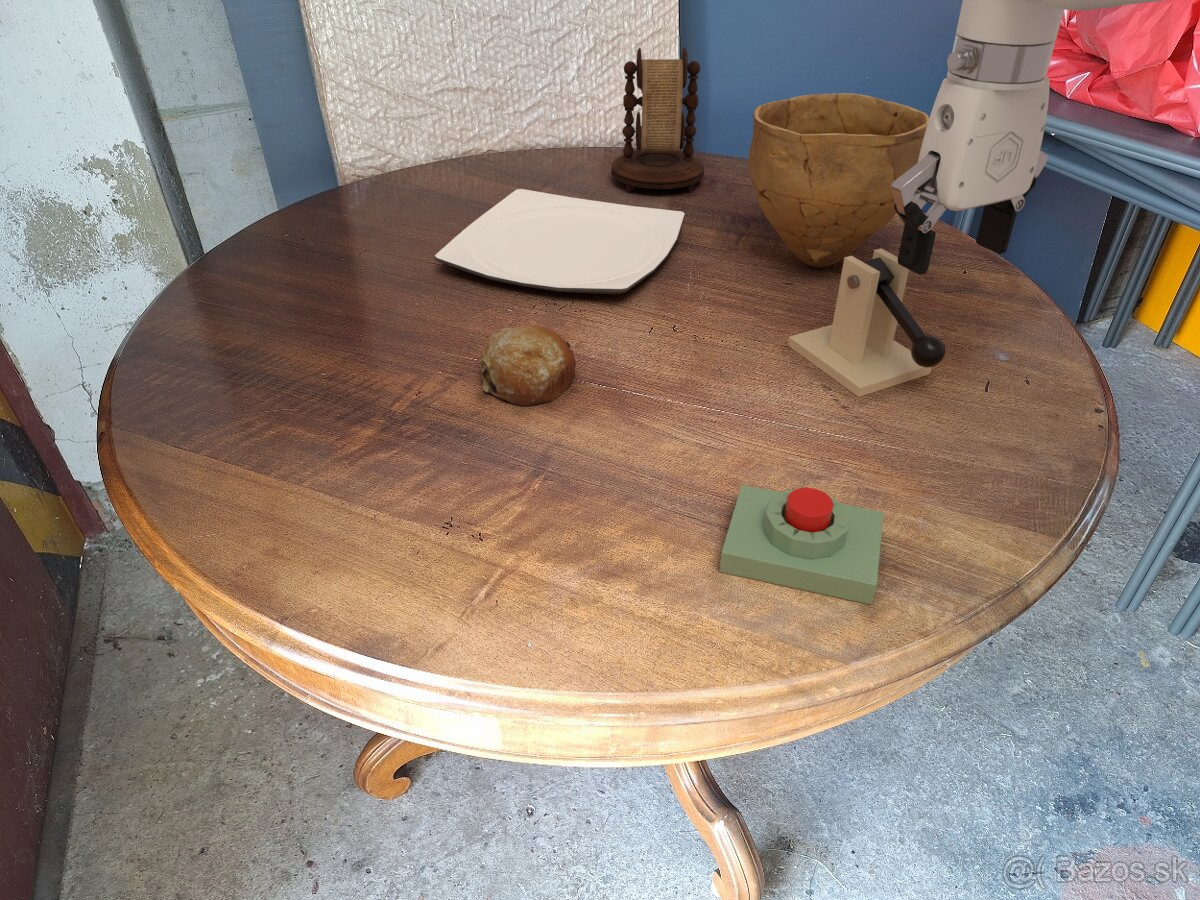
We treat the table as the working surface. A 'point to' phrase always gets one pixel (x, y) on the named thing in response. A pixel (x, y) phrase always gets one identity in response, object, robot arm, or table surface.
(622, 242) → the plate
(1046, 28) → the robot arm
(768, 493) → the button block
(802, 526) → the button
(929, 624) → the table surface
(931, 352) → the black ball knob lever
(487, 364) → the bread roll
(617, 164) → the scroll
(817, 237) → the bowl
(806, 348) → the lever bracket
